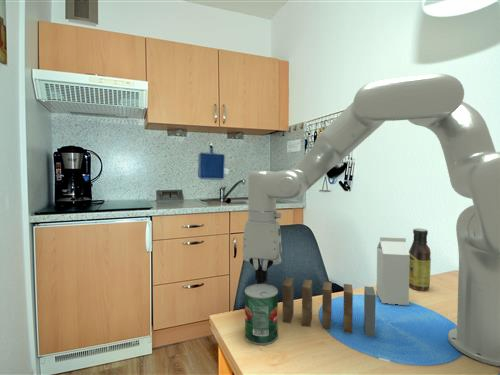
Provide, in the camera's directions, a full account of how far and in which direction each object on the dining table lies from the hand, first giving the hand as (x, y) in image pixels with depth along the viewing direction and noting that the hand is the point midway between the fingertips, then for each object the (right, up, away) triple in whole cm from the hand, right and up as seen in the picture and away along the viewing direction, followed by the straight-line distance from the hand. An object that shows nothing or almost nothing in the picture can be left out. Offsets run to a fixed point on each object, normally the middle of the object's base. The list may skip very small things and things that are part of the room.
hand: (261, 282), depth 76 cm
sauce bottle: (+53, -8, +17) cm, 56 cm away
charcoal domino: (+26, -9, -8) cm, 29 cm away
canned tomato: (0, -9, -10) cm, 13 cm away
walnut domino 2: (+12, -9, -3) cm, 15 cm away
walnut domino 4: (+21, -9, -7) cm, 24 cm away
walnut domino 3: (+17, -9, -5) cm, 19 cm away
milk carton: (+40, -8, +8) cm, 42 cm away
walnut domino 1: (+7, -9, -2) cm, 11 cm away
